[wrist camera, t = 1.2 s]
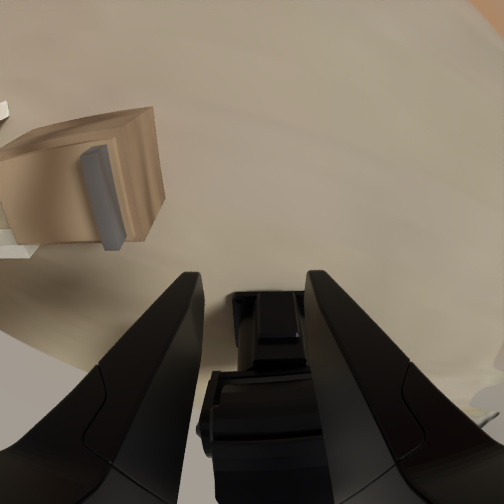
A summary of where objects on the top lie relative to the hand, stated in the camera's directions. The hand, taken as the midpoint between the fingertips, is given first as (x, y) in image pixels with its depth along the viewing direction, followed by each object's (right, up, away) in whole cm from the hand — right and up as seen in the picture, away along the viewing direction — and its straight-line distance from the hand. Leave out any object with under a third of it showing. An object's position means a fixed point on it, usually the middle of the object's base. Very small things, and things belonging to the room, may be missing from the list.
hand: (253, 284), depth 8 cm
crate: (-10, +7, +10) cm, 16 cm away
